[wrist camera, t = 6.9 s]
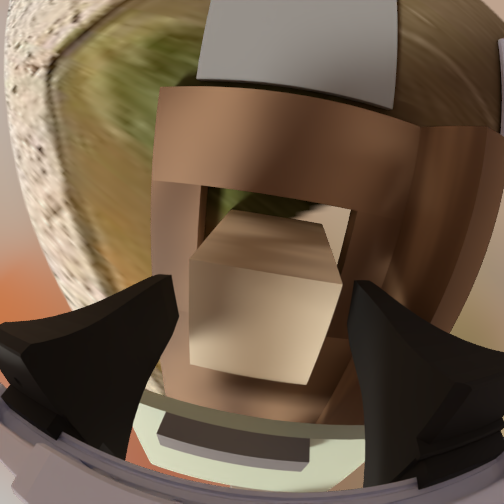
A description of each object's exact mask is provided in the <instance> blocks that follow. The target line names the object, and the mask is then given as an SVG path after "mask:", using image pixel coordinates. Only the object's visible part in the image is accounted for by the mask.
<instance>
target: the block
mask: <svg viewBox="0 0 504 504" xmlns="http://www.w3.org/2000/svg"><path fill="white" fill-rule="evenodd" d="M342 285H343V284H342V281H341V278H340V275H339V271H338V268H337V265H336V262H335V260H334V256H333V254H332V251H331V248H330V245H329V242H328V240H327V237H326V234H325V231H324V228H323V225H322V224H319V223H314V222H308V221H302V220H296V219H290V218H284V217H278V216H271V215H265V214H259V213H252V212H246V211H239V210H232V209H231V210H230V211H229V212H228V213H227V215H226V216H225V217H224V218H223V219H222V220H221V222H220V223H219V224H218V225H217V226H216V227H215V229H214V230H213V231H212V232H211V233H210V235H209V236H208V237H207V238H206V239H205V241H204V242H203V243H202V244H201V245H200V247H199V248H198V249H197V250H196V251H195V253H194V254H193V255H192V256H191V257H190V259H189V349H190V364H192V365H196V366H200V367H204V368H209V369H213V370H218V371H222V372H227V373H232V374H237V375H242V376H248V377H254V378H260V379H266V380H272V381H279V382H286V383H294V384H303V385H306V384H307V382H308V380H309V377H310V375H311V372H312V370H313V367H314V365H315V362H316V360H317V357H318V355H319V352H320V350H321V347H322V344H323V342H324V339H325V336H326V333H327V331H328V328H329V325H330V322H331V319H332V316H333V313H334V310H335V307H336V304H337V301H338V298H339V295H340V292H341V289H342Z"/></svg>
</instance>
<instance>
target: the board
mask: <svg viewBox="0 0 504 504" xmlns="http://www.w3.org/2000/svg"><path fill="white" fill-rule="evenodd" d="M208 186H211V187H219V188H227V189H235V190H242V191H249V192H256V193H262V194H269V195H275V196H281V197H287V198H293V199H299V200H304V201H310V202H315V203H320V204H326V205H331V206H336V207H341V208H346V209H351V212H350V216H349V221H348V225H347V229H346V233H345V237H344V241H343V245H342V249H341V253H340V257H339V260H338V264H337V268H338V271H339V275H340V278H341V281H342V284H343V285H342V289H341V292H340V295H339V298H338V301H337V304H336V307H335V310H334V313H333V316H332V319H331V322H330V325H329V328H328V331H327V333H326V336H325V339H324V342H323V344H322V347H321V350H320V352H319V355H318V357H317V360H316V362H315V365H314V367H313V370H312V372H311V375H310V377H309V380H308V382H307V384H306V385H303V384H294V383H286V382H279V381H272V380H266V379H260V378H254V377H248V376H242V375H237V374H232V373H227V372H222V371H218V370H213V369H209V368H204V367H200V366H196V365H192V364H190V349H189V259H190V257H191V256H192V255H193V254H194V253H195V251H196V250H197V249H198V248H199V247H200V245H201V244H202V243H203V242H204V234H205V220H206V206H207V194H208ZM503 189H504V137H503V136H502V135H500V134H499V133H497V132H496V131H494V130H492V129H491V128H489V127H487V126H435V127H419V126H417V125H414V124H411V123H408V122H406V121H403V120H400V119H397V118H394V117H391V116H387V115H384V114H381V113H377V112H374V111H370V110H367V109H363V108H359V107H356V106H352V105H347V104H343V103H339V102H334V101H330V100H325V99H320V98H315V97H309V96H303V95H297V94H291V93H284V92H276V91H268V90H259V89H247V88H233V87H210V86H179V87H160V92H159V99H158V107H157V116H156V126H155V137H154V149H153V164H152V186H151V258H152V276H154V275H157V274H166V275H172V280H173V286H174V291H175V297H176V302H177V307H178V312H179V319H178V322H177V324H176V327H175V330H174V332H173V335H172V337H171V339H170V341H169V343H168V344H167V346H166V348H165V350H164V352H163V354H162V355H161V357H160V361H161V368H162V375H163V381H164V387H165V393H166V396H167V397H170V398H173V399H177V400H180V401H184V402H188V403H191V404H195V405H199V406H203V407H207V408H212V409H216V410H221V411H225V412H230V413H235V414H241V415H246V416H252V417H258V418H265V419H272V420H280V421H288V422H298V423H310V424H327V425H364V412H363V401H362V394H361V389H360V385H359V381H358V376H357V372H356V369H355V365H354V361H353V357H352V353H351V349H350V345H349V338H348V330H347V320H348V314H349V309H350V303H351V297H352V291H353V284H354V280H370V281H371V282H373V283H374V284H376V285H377V286H378V287H380V288H381V289H382V290H384V291H385V292H386V293H388V294H389V295H390V296H391V297H393V298H394V299H395V300H397V301H398V302H399V303H401V304H402V305H403V306H405V307H406V308H407V309H409V310H410V311H412V312H413V313H415V314H416V315H418V316H419V317H421V318H422V319H424V320H425V321H427V322H429V323H431V324H432V325H434V326H436V327H438V328H439V329H441V330H443V331H445V332H447V333H450V332H451V330H452V328H453V326H454V324H455V322H456V320H457V318H458V316H459V315H460V312H461V311H462V308H463V306H464V304H465V302H466V300H467V298H468V296H469V294H470V291H471V289H472V287H473V284H474V282H475V280H476V277H477V275H478V272H479V270H480V267H481V265H482V262H483V259H484V256H485V254H486V251H487V247H488V244H489V242H490V239H491V236H492V232H493V229H494V225H495V222H496V218H497V214H498V210H499V207H500V202H501V198H502V193H503Z"/></svg>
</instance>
